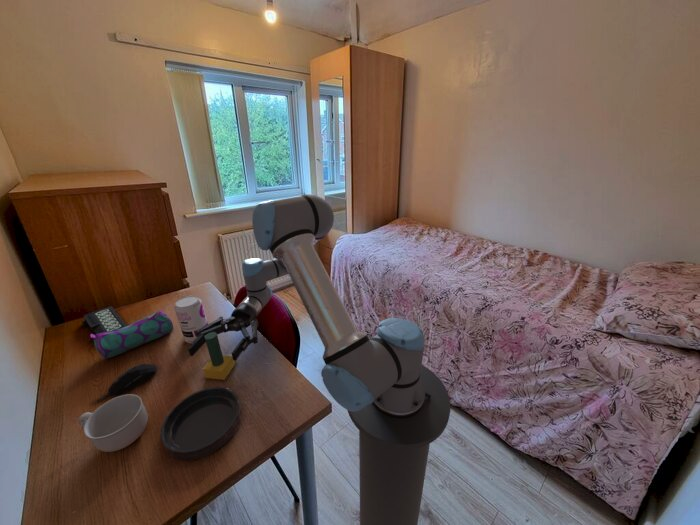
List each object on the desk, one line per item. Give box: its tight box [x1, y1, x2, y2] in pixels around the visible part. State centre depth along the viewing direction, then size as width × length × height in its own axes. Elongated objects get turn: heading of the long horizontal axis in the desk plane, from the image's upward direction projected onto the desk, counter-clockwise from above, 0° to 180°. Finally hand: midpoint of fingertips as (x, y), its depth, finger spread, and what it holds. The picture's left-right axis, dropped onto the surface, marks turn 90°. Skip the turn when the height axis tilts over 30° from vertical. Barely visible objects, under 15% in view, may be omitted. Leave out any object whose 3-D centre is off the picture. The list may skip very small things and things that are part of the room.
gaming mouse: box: [96, 363, 158, 402], centre depth 82 cm, size 6×15×4 cm, turn 142°
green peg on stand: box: [202, 332, 236, 381], centre depth 84 cm, size 6×6×14 cm
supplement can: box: [174, 295, 209, 344], centre depth 98 cm, size 8×8×15 cm
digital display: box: [81, 306, 128, 342], centre depth 107 cm, size 21×3×10 cm
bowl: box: [159, 386, 243, 462], centre depth 70 cm, size 17×17×4 cm
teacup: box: [77, 393, 149, 453], centre depth 67 cm, size 14×11×8 cm
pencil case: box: [89, 310, 174, 360], centre depth 96 cm, size 21×9×10 cm, turn 138°
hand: (211, 354), depth 82 cm, fingers open, 13 cm apart
